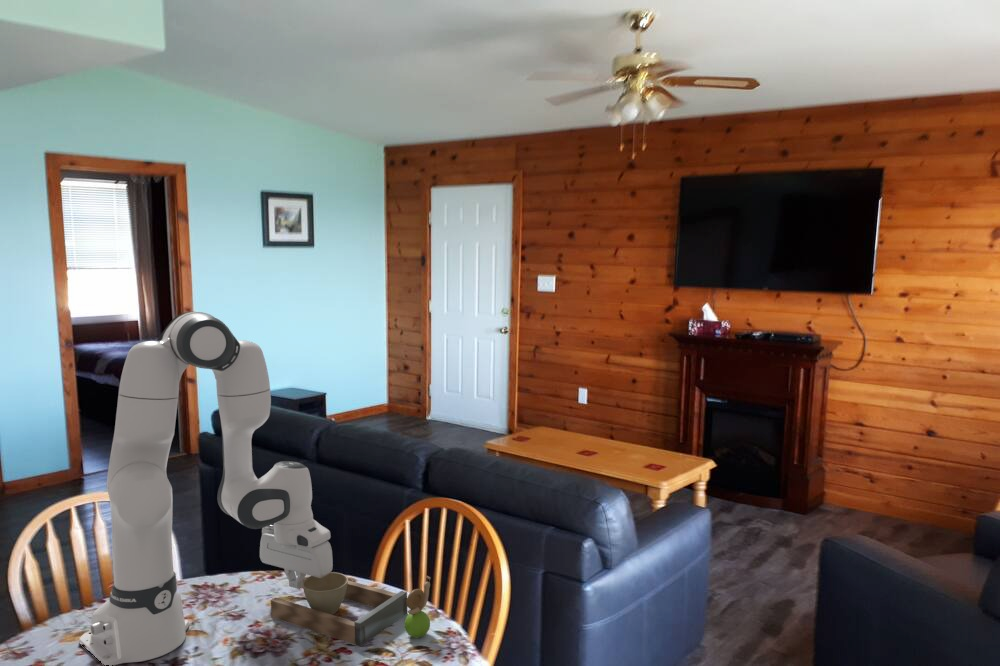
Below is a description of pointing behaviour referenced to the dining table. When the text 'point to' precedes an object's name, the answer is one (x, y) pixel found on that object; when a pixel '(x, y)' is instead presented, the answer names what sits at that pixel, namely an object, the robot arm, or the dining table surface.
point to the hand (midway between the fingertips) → (296, 587)
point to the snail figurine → (417, 612)
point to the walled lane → (357, 632)
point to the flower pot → (325, 592)
